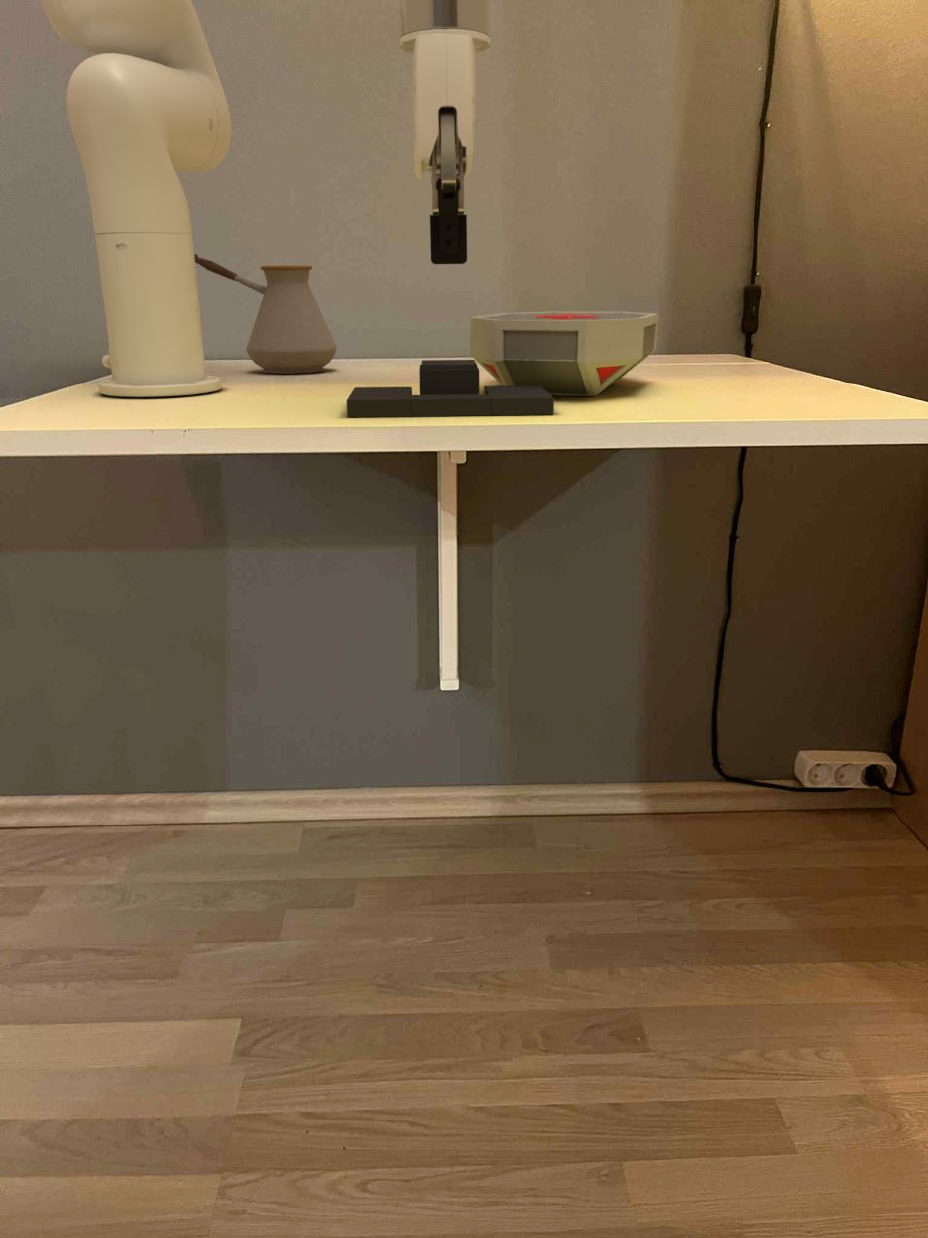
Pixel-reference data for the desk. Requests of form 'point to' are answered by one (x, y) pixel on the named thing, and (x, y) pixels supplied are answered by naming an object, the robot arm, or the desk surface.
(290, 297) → the coffee pot
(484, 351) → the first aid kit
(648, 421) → the desk surface
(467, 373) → the black squarish block
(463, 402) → the base pad
